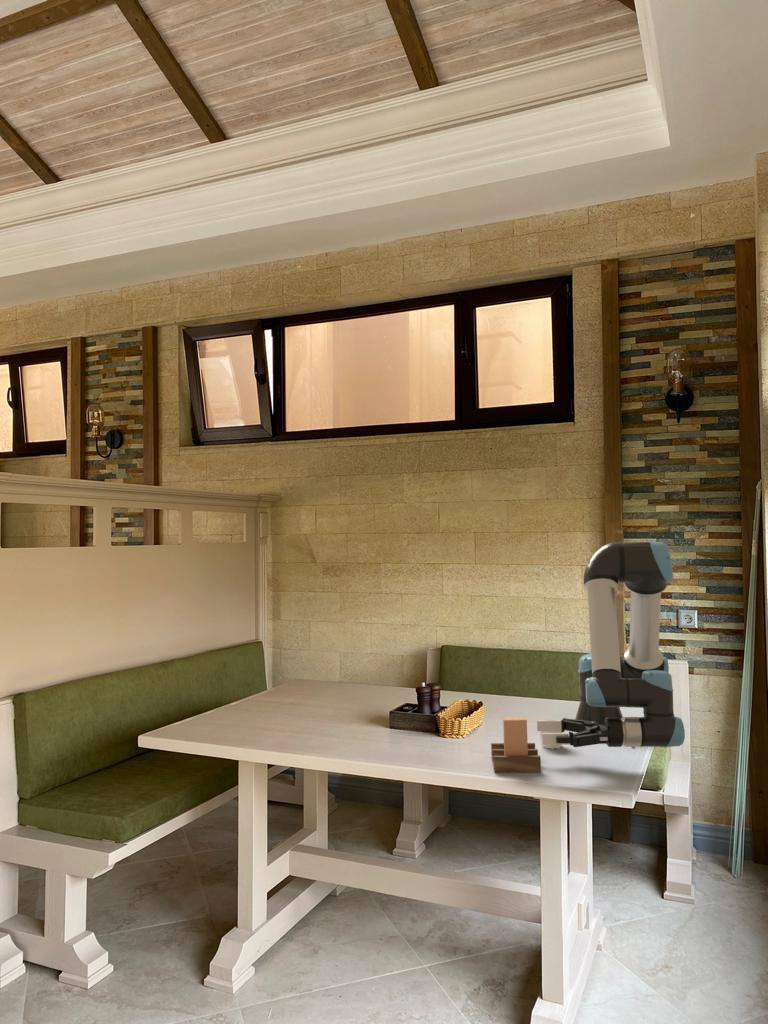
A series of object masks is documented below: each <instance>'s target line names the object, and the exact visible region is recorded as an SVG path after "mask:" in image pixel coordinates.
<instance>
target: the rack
mask: <svg viewBox="0 0 768 1024" xmlns="http://www.w3.org/2000/svg"><path fill="white" fill-rule="evenodd" d="M490 748H491V752H490V753H491V761H492V762H491V763H492V765H493V772H494V773H541V772H542V769H541V768H542V763H541V762H542V761H541V755H539V750H538V748H536V743H535V742H528V756H504V742H491V743H490Z"/></svg>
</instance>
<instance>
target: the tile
mask: <svg viewBox="0 0 768 1024" xmlns="http://www.w3.org/2000/svg"><path fill="white" fill-rule="evenodd" d="M502 724H503V725H502V727H503V743H504V756H528V743H529V742H528V721H527V717H525V716H524V717H521V716H520V717H502Z"/></svg>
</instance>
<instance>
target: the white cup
mask: <svg viewBox="0 0 768 1024" xmlns="http://www.w3.org/2000/svg"><path fill="white" fill-rule="evenodd" d="M542 733H563V732H561V731H539V734H540V742H541V747H542V748H544V747H545V748H544V749H547V748H552V749H551V750H554V749H553V748H558V749H560V748H559V747H561V748H562V745H543V738H542Z"/></svg>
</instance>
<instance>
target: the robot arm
mask: <svg viewBox="0 0 768 1024" xmlns="http://www.w3.org/2000/svg"><path fill="white" fill-rule="evenodd" d="M673 571H674V570H673V565H672V559H671V553H670V549H669V546H668V544H667V543H666V542H662V541H653V540H652V541H651V540H650V541H636V542H634V541H631V542H629V541H628V542H618V541H617V542H610V543H607V544H604V545H602V546H601V547H600V548H598V549H597V550H596V551H595V552H594V553H593V554H592V555H591V557H590V558H589V560H588V561H587V563H586V566H585V569H584V573H583V589H584V591H585V592H587V601H588V602H587V603H588V606H587V607H588V621H589V622H588V623H589V624H588V625H589V640H590V641H589V642H590V652H589V653H587V654H583V655H582V656H581V657H580V658H579V660H578V671H577V672H578V673H579V705H578V709H577V712H576V715H575V719H573V718H566V717H563V718H562V719H561V720H560V719H558V720H557V719H543V720H540V719H539V720H538V719H537V720H536V730H537V732H540V731H561V732H562V733H542V738H543V745H569V746H572V747H573V748H580V747H587V746H593V745H595V746H596V745H601V744H602V745H603V744H604V745H606V746H607V747H609V748H612V747H614V748H621V747H627V748H628V747H631V749H634V750H635V749H636V747H640V748H641V747H647V748H648V747H649V748H650V747H651V748H652V747H653V748H654V747H655V748H656V747H657V748H671V747H673V748H674V747H680V746H682V745H683V744H684V742H685V737H686V733H685V732H686V731H685V725H684V722H683V720H682V719H681V718H680V717H679V716H675V714H674V713H675V711H674V688H673V680H672V674H670V672H669V671H670V669H669V662H668V658H667V657H665V656H664V654H663V653H662V651H661V650H659V648H660V630H661V629H660V627H661V626H660V624H661V623H660V622H661V604H662V603H661V602H662V601H661V598H662V592H664V591H665V590H666V589H667V586H668V584H667V583H669V584H670V583H672V582H674V573H673ZM619 583H624V584H625V587H626V589H627V590H628V591H629V593H630V594H629V595H630V599H629V601H630V603H629V647H628V648H627V649H626V650H625V652H624V656H620V645H619V644H620V640H619V630H618V627H619V626H618V615H617V613H618V612H617V603H616V601H617V600H616V591H617V590H618V589H619ZM621 708H637V709H640V708H642V709H643V711H642V712H643V716H641V717H640V716H623V713H622V711H621ZM565 731H567V732H565Z"/></svg>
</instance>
